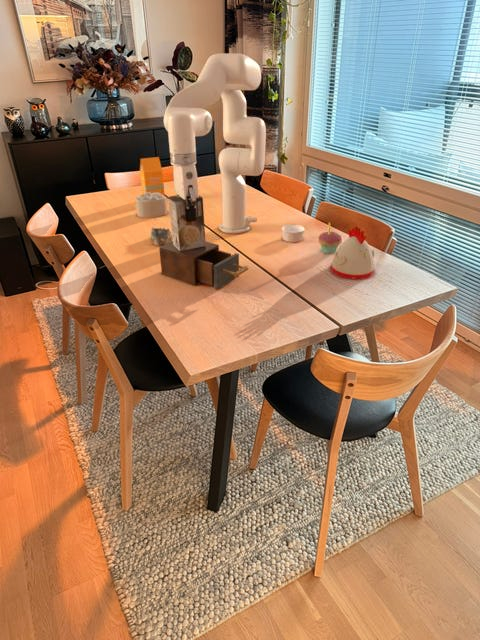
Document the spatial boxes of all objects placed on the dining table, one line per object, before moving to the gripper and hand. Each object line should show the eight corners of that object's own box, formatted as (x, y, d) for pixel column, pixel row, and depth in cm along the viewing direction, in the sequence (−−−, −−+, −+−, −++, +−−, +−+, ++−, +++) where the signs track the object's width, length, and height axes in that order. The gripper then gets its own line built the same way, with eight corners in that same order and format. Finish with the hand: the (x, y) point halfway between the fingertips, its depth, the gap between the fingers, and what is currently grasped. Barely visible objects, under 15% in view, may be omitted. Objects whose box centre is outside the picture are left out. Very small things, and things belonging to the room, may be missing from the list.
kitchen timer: (346, 282, 147) (352, 238, 139) (323, 265, 158) (327, 223, 150) (381, 274, 152) (389, 231, 144) (356, 259, 162) (362, 218, 154)
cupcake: (335, 257, 163) (338, 225, 157) (313, 252, 167) (315, 220, 161) (343, 249, 170) (347, 218, 163) (322, 244, 173) (325, 214, 167)
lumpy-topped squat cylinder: (169, 214, 204) (168, 194, 200) (142, 219, 199) (139, 199, 194) (160, 207, 212) (159, 189, 207) (133, 212, 206) (131, 193, 202)
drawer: (253, 280, 146) (253, 258, 142) (231, 294, 138) (231, 271, 134) (206, 266, 156) (205, 244, 152) (184, 278, 148) (182, 256, 144)
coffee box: (198, 239, 153) (195, 191, 144) (206, 246, 148) (203, 197, 139) (172, 245, 149) (168, 196, 141) (179, 252, 144) (175, 201, 136)
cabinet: (219, 271, 154) (218, 244, 149) (195, 285, 146) (193, 257, 140) (186, 261, 161) (185, 235, 156) (161, 274, 153) (159, 247, 148)
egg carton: (171, 245, 174) (170, 235, 172) (151, 246, 173) (150, 236, 171) (171, 234, 183) (170, 225, 181) (152, 235, 182) (151, 226, 180)
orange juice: (143, 199, 223) (138, 157, 212) (160, 197, 226) (156, 155, 216) (147, 204, 217) (142, 160, 206) (165, 201, 220) (161, 158, 209)
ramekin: (276, 239, 179) (277, 228, 176) (290, 233, 184) (291, 222, 182) (294, 245, 173) (295, 234, 171) (308, 238, 179) (309, 227, 177)
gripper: (205, 163, 129) (208, 224, 138) (185, 151, 142) (189, 207, 152) (180, 166, 126) (184, 228, 135) (162, 153, 139) (167, 211, 149)
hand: (187, 216), depth 143 cm, fingers closed on coffee box, 6 cm apart
